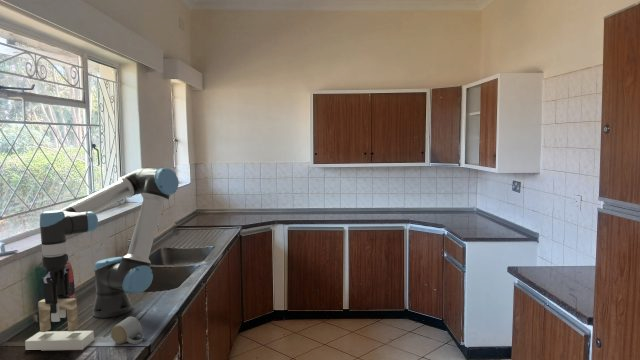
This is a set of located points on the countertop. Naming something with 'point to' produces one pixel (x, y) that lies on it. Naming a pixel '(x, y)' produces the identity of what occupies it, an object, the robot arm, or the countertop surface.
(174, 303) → the countertop surface
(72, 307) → the clip
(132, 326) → the ceramic mug
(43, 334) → the white flat block
